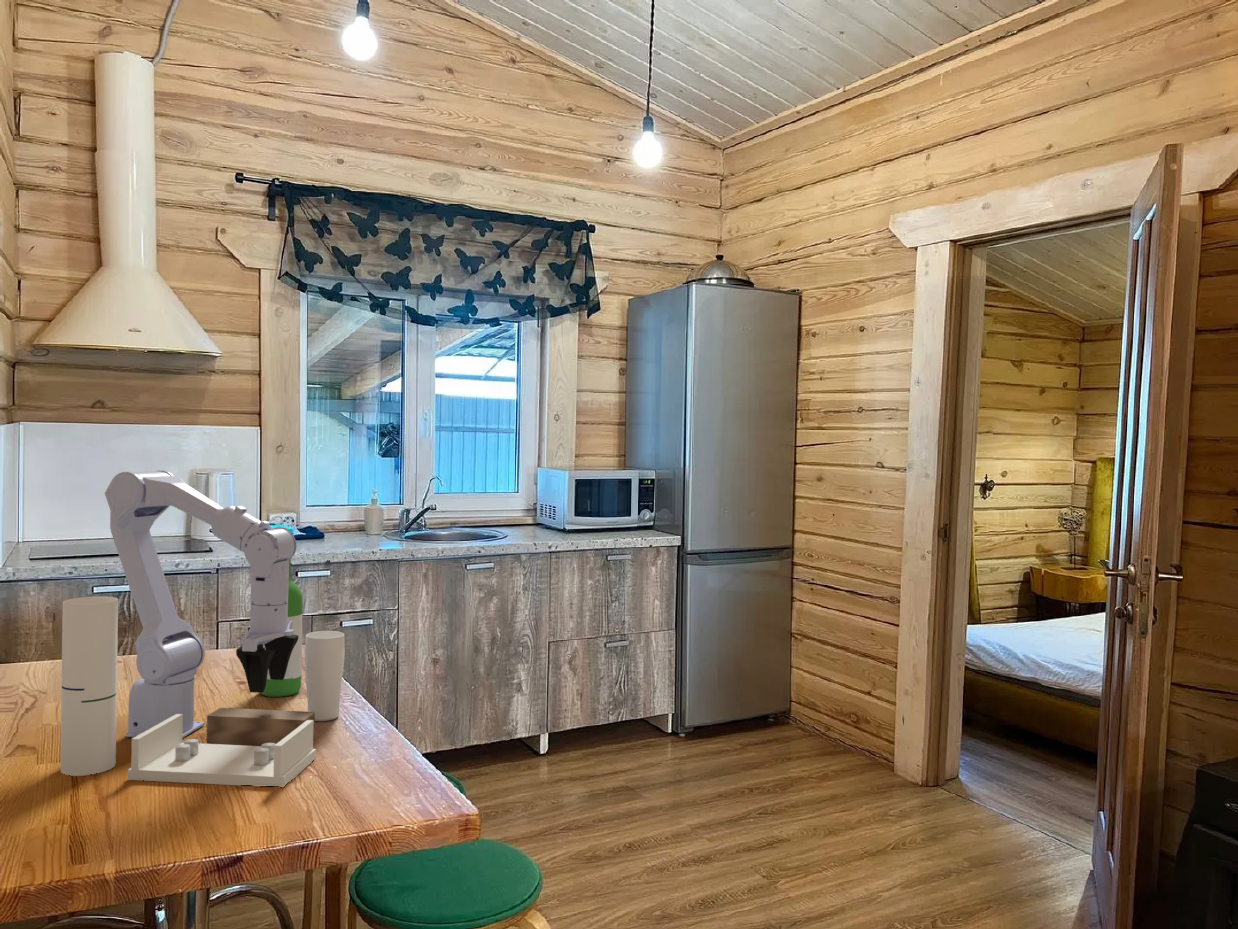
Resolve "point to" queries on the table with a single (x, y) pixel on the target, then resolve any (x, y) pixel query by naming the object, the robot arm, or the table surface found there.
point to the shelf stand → (218, 758)
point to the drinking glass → (324, 672)
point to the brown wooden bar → (253, 725)
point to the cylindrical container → (89, 685)
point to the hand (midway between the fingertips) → (267, 685)
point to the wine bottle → (293, 672)
